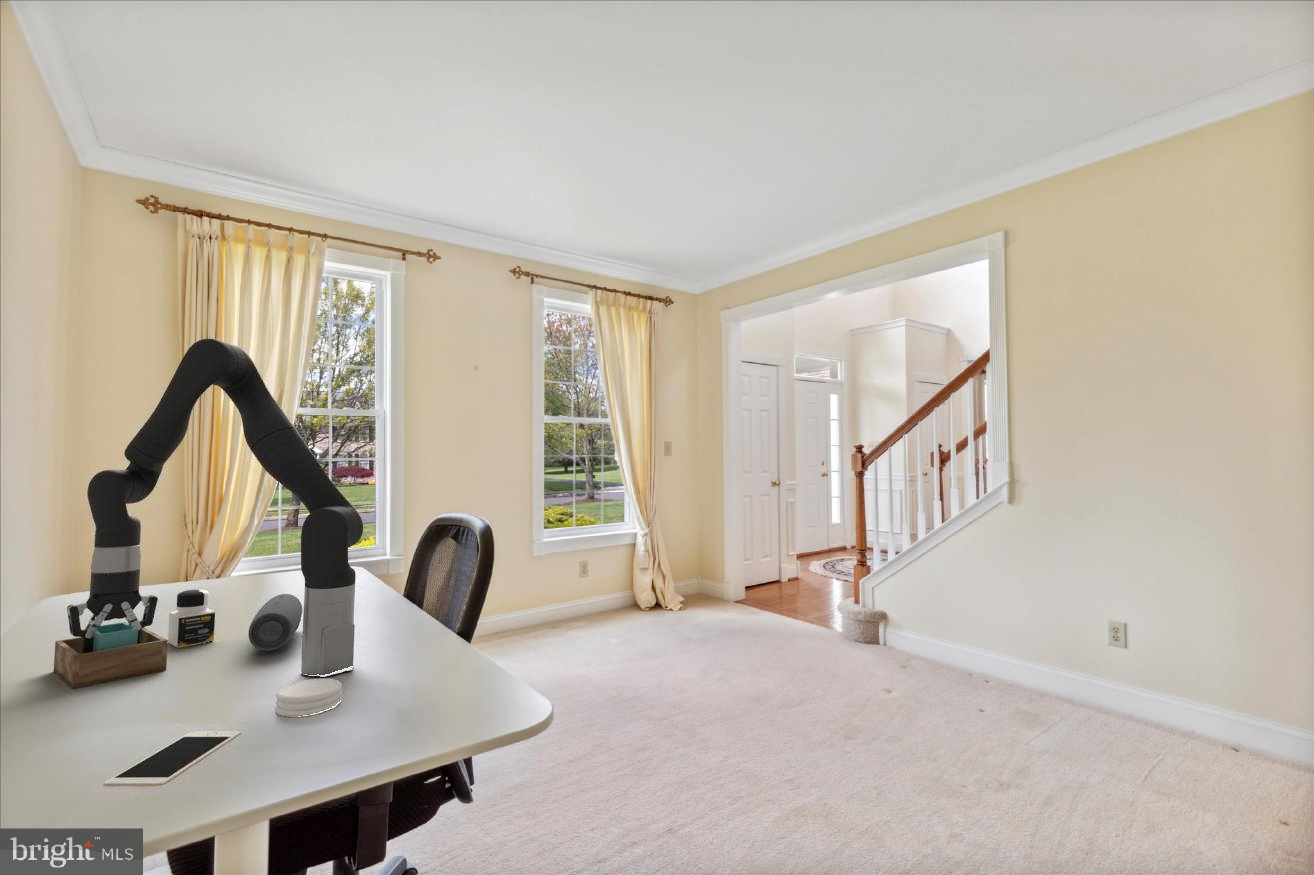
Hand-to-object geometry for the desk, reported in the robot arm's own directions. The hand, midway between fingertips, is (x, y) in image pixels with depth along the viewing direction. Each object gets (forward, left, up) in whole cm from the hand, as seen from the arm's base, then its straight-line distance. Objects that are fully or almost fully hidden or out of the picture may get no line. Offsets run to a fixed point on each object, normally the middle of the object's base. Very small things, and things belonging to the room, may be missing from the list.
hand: (111, 652), depth 124 cm
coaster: (-50, -16, -4) cm, 53 cm away
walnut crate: (0, 0, -4) cm, 4 cm away
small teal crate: (0, 0, -1) cm, 1 cm away
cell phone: (-55, +4, -4) cm, 55 cm away
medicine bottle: (+12, -17, -4) cm, 21 cm away
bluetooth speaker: (-4, -29, -4) cm, 30 cm away
